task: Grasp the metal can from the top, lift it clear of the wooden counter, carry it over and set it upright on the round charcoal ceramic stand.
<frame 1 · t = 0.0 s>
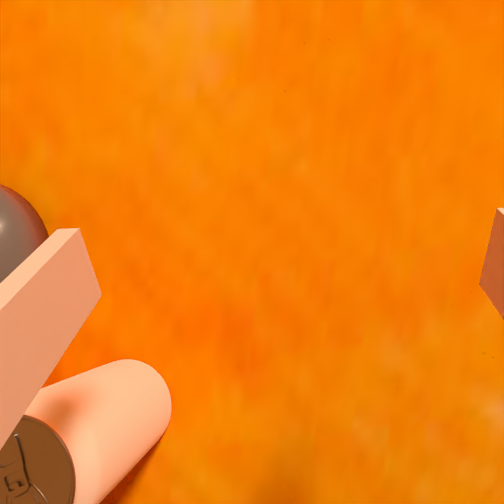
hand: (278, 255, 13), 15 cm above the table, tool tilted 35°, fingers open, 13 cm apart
can: (130, 403, 29), on the table
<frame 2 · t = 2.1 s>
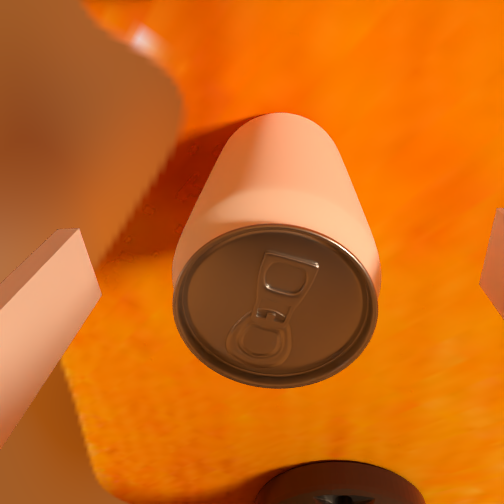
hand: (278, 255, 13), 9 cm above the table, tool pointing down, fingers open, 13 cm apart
can: (279, 172, 22), on the table
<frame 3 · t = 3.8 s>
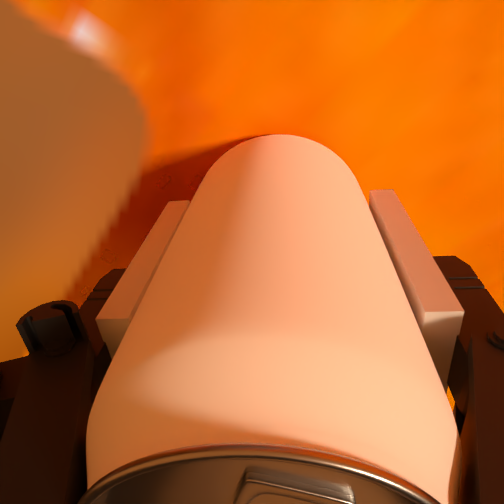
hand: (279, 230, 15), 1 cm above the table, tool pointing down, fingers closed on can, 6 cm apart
can: (278, 211, 16), on the table, touching gripper
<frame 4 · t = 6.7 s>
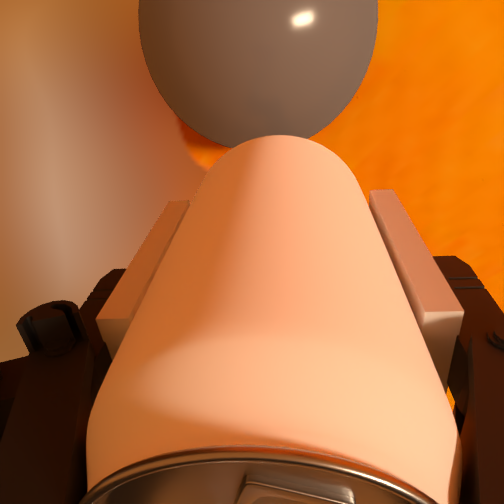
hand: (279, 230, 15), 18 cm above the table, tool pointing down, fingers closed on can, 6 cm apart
stand: (259, 32, 27), on the table
can: (278, 211, 16), point 16 cm above the table, touching gripper
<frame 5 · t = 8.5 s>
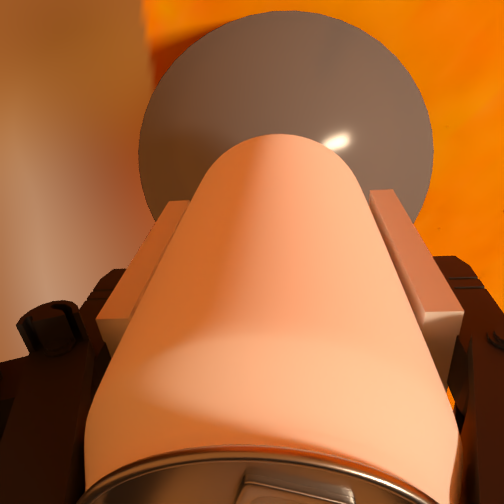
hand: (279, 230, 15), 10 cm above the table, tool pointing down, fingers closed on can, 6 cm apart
stand: (282, 154, 23), on the table
can: (278, 210, 16), point 8 cm above the table, touching gripper
when the fingers open (7 cm above the table, at t = 9.8 s): can drops 1 cm, resting on stand.
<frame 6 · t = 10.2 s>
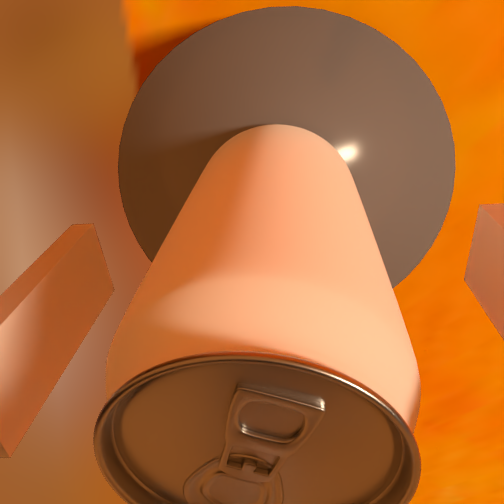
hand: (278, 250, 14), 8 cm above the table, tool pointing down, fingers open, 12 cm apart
stand: (282, 167, 21), on the table
can: (276, 196, 17), point 4 cm above the table, touching stand
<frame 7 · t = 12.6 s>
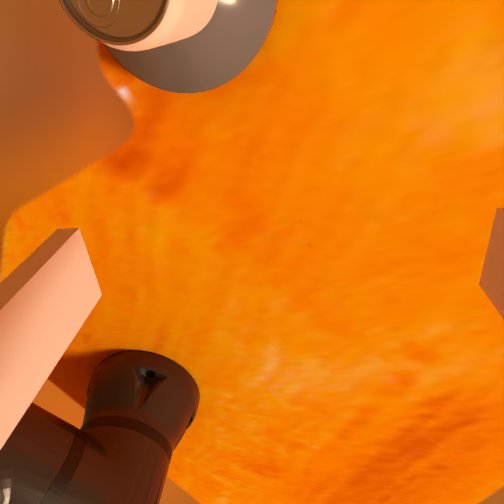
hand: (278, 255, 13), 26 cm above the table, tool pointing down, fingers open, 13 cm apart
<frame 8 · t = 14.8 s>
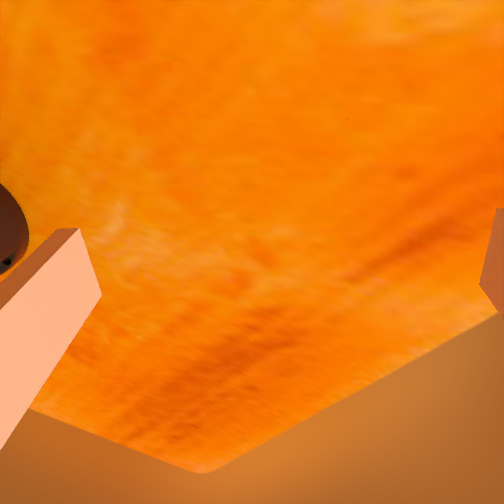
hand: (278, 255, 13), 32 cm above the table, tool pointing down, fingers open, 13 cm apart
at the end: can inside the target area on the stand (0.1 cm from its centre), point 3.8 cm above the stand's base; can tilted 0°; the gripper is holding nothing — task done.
